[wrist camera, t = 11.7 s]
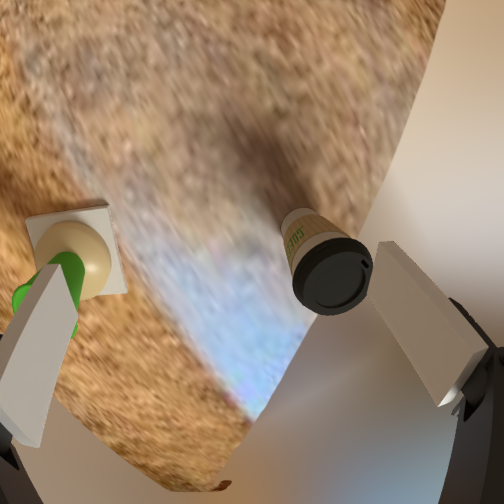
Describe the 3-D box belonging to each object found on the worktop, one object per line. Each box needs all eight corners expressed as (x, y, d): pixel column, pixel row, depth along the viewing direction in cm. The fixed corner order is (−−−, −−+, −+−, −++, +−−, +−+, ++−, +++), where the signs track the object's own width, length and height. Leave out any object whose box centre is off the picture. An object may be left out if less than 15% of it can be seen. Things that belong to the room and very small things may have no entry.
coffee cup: (254, 228, 46) (278, 290, 33) (306, 182, 43) (351, 227, 31) (296, 267, 50) (328, 332, 37) (343, 226, 48) (392, 280, 35)
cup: (77, 302, 43) (56, 354, 33) (33, 264, 39) (1, 311, 29) (110, 268, 41) (90, 320, 32) (62, 225, 37) (28, 269, 27)
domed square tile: (28, 216, 39) (17, 227, 35) (109, 204, 40) (102, 215, 37) (53, 293, 46) (46, 307, 42) (128, 288, 47) (124, 303, 44)
